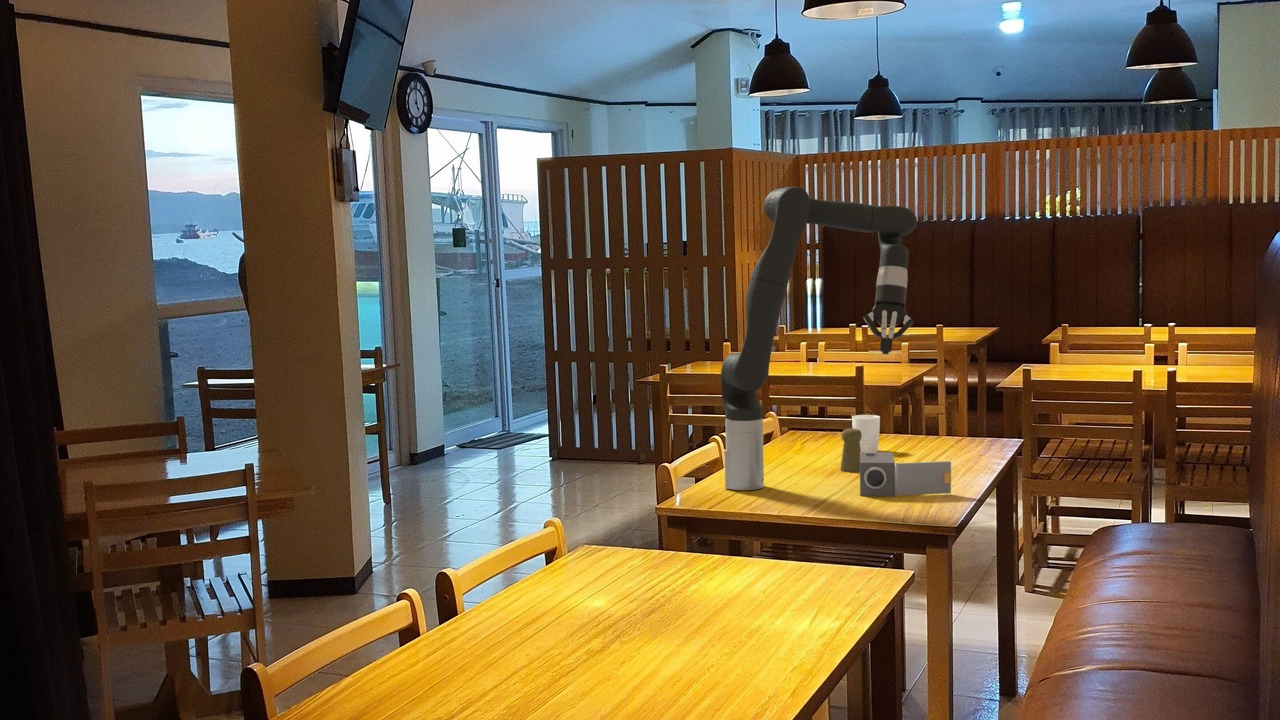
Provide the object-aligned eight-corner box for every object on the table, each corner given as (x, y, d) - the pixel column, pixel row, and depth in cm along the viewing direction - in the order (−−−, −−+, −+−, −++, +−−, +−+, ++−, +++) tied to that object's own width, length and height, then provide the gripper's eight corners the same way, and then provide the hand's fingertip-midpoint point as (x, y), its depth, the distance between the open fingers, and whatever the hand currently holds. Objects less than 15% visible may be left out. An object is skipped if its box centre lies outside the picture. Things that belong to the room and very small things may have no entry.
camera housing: (860, 496, 280) (860, 460, 279) (859, 483, 295) (859, 449, 294) (894, 497, 278) (894, 461, 278) (892, 484, 293) (892, 450, 292)
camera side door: (894, 494, 279) (894, 463, 279) (949, 492, 281) (949, 461, 280) (896, 496, 278) (896, 464, 277) (951, 493, 279) (952, 462, 278)
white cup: (850, 453, 338) (850, 418, 337) (853, 448, 345) (853, 414, 344) (878, 454, 335) (878, 419, 334) (881, 449, 343) (881, 415, 342)
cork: (856, 473, 308) (856, 431, 307) (836, 470, 312) (835, 429, 311) (867, 469, 313) (867, 428, 312) (846, 467, 317) (846, 426, 316)
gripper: (865, 281, 297) (859, 349, 295) (919, 285, 295) (913, 354, 293) (864, 286, 305) (857, 353, 302) (916, 291, 303) (910, 358, 301)
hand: (885, 353), depth 298 cm, fingers closed
